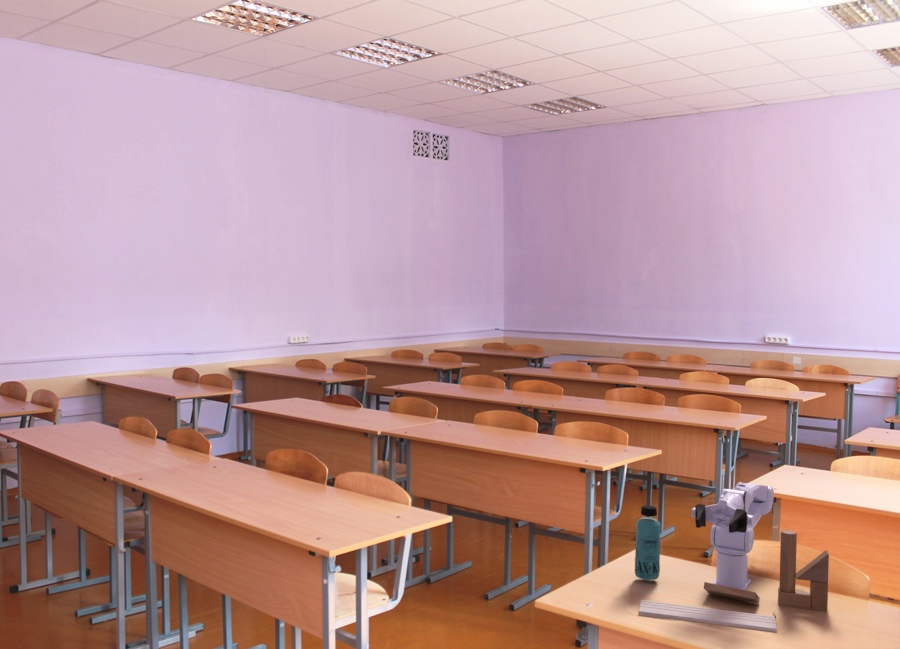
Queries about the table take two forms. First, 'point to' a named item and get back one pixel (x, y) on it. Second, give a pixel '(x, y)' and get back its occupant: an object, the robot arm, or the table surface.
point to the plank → (731, 593)
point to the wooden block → (802, 577)
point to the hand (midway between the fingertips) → (713, 526)
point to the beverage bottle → (647, 545)
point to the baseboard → (708, 615)
